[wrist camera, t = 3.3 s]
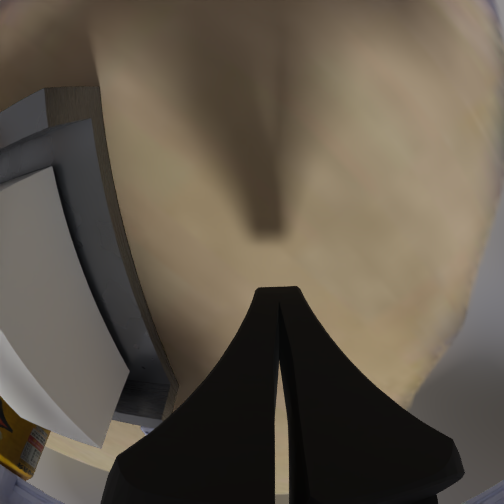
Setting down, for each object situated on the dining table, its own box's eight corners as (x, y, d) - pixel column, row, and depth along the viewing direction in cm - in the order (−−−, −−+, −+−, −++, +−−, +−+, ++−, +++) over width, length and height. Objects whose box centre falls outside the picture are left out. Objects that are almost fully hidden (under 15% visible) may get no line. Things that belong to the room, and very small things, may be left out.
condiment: (5, 352, 17) (-49, 449, 6) (80, 399, 19) (37, 513, 8) (18, 387, 20) (-20, 468, 10) (82, 425, 22) (52, 515, 11)
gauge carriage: (129, 371, 14) (101, 448, 9) (53, 358, 14) (20, 417, 10) (43, 103, 7) (-66, 130, 3) (-30, 145, 8) (-105, 181, 3)
